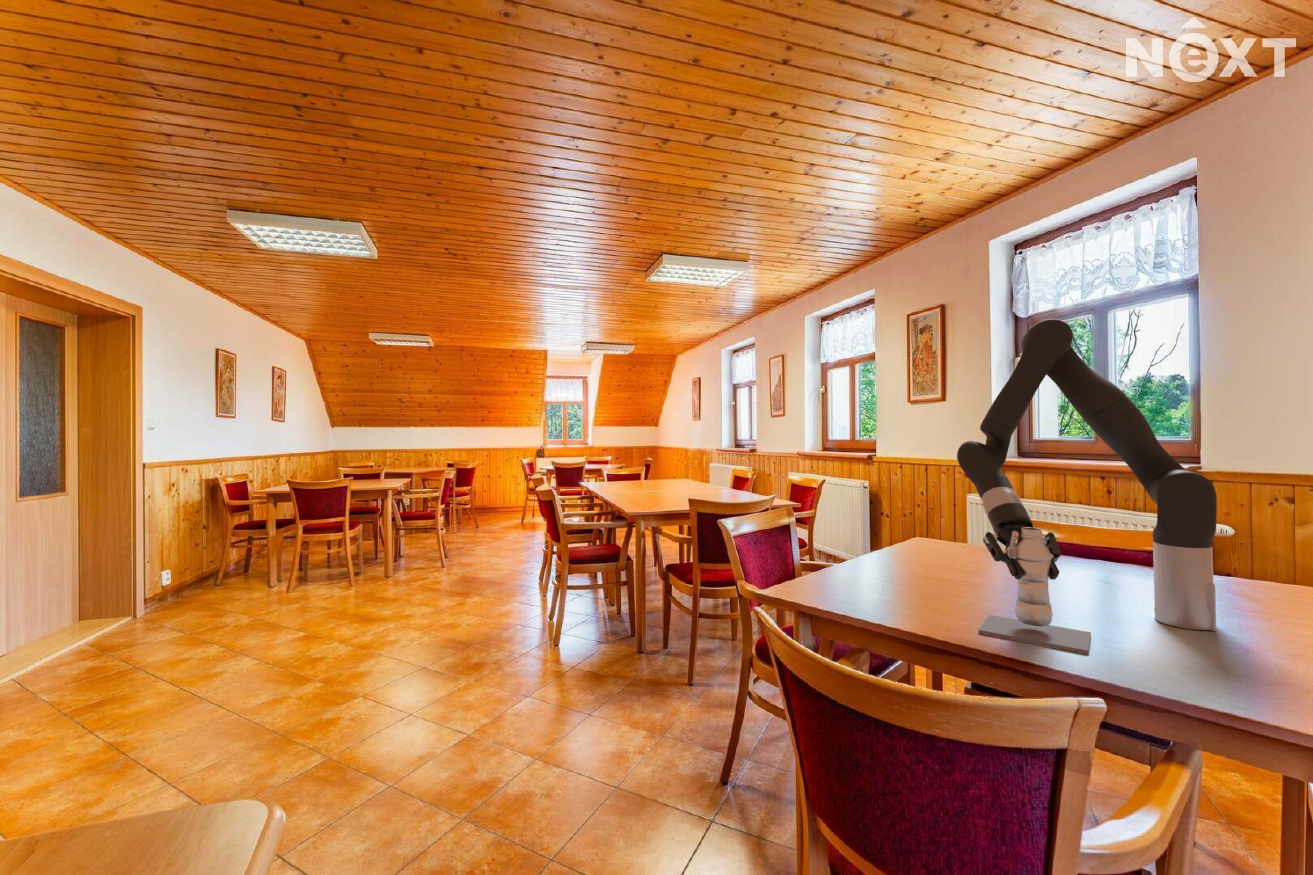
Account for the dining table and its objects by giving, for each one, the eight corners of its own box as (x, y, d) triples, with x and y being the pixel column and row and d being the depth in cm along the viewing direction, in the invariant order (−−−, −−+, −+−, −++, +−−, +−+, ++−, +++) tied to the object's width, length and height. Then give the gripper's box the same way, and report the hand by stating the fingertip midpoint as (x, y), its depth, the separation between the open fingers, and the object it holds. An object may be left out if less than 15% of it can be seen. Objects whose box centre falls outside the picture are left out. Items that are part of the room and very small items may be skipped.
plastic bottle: (1055, 623, 111) (1053, 528, 111) (1050, 632, 106) (1048, 532, 106) (1018, 616, 115) (1016, 525, 115) (1012, 625, 110) (1010, 529, 110)
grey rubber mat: (1090, 636, 109) (1090, 632, 109) (1088, 654, 100) (1088, 650, 100) (989, 618, 121) (989, 614, 121) (978, 633, 112) (978, 629, 112)
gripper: (977, 501, 119) (1006, 567, 107) (1046, 501, 117) (1083, 568, 106) (966, 521, 124) (993, 586, 113) (1033, 521, 123) (1067, 587, 111)
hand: (1037, 577), depth 109 cm, fingers closed on plastic bottle, 6 cm apart
